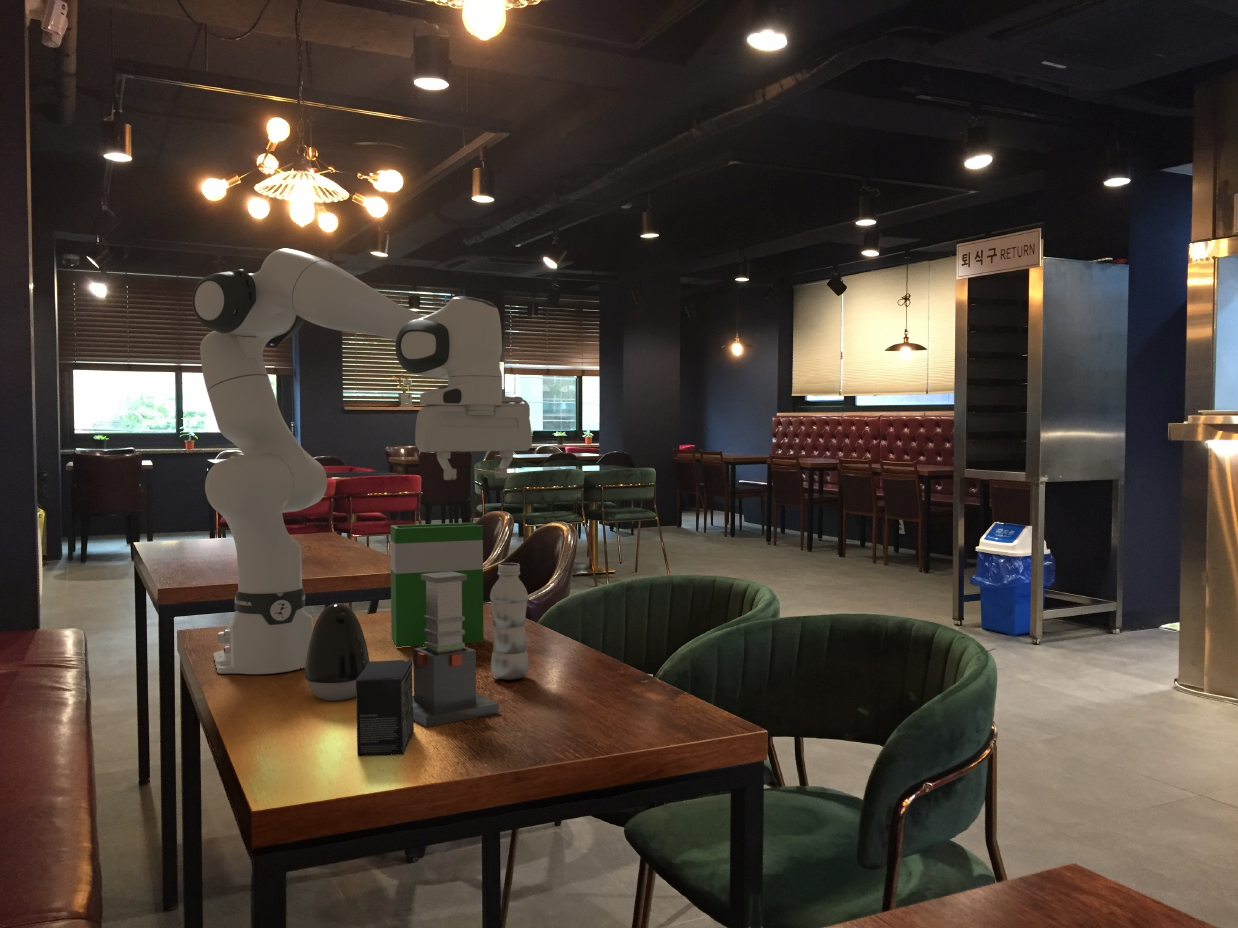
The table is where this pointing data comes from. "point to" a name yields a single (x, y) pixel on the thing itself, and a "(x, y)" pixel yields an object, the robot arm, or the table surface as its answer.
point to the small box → (384, 708)
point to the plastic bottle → (509, 624)
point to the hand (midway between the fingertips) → (475, 479)
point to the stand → (447, 688)
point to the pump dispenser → (336, 654)
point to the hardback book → (432, 554)
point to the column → (444, 612)
